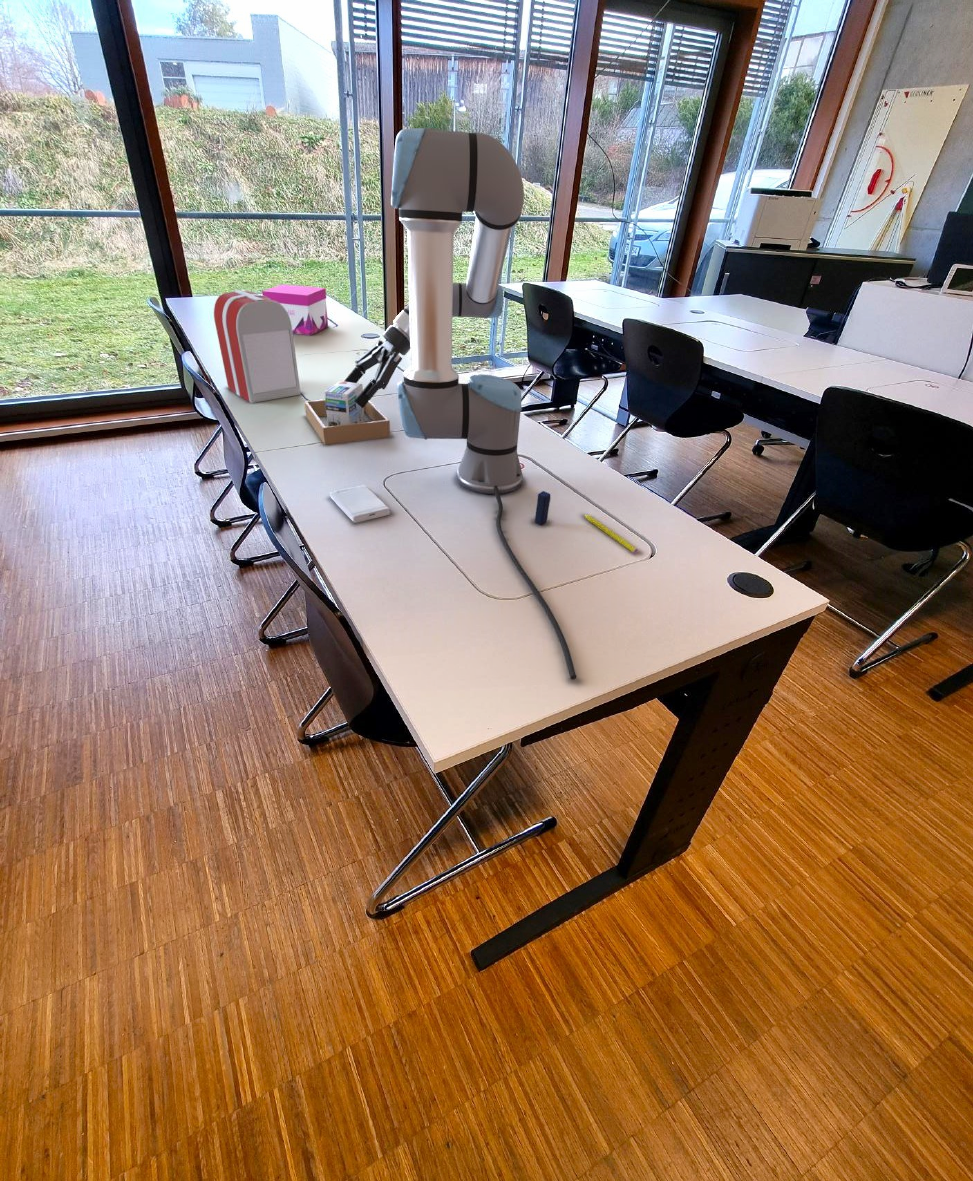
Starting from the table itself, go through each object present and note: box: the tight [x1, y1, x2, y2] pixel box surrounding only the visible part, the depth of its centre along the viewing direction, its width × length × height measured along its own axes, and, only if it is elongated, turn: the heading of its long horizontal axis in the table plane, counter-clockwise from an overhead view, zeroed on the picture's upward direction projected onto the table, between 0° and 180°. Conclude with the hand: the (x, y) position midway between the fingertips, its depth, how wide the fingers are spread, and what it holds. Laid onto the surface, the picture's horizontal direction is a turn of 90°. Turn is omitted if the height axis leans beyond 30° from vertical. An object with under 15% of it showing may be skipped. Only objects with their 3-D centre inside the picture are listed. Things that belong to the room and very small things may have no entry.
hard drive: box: [329, 484, 391, 524], centre depth 123 cm, size 2×8×12 cm
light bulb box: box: [323, 380, 366, 426], centre depth 157 cm, size 11×7×11 cm, turn 168°
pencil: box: [584, 514, 638, 554], centre depth 120 cm, size 16×1×1 cm, turn 30°
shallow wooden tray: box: [303, 398, 391, 446], centre depth 159 cm, size 22×18×4 cm
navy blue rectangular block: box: [534, 490, 551, 526], centre depth 120 cm, size 2×2×7 cm
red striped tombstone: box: [213, 289, 302, 404], centre depth 173 cm, size 17×18×27 cm
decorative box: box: [261, 283, 329, 336], centre depth 245 cm, size 19×19×15 cm
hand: (351, 396), depth 157 cm, fingers open, 13 cm apart
